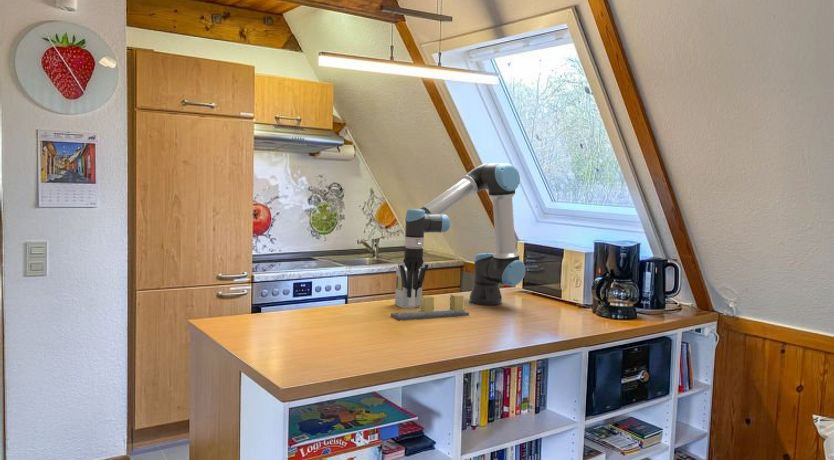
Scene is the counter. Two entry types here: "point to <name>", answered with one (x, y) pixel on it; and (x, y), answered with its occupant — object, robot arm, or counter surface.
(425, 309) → the block
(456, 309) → the board
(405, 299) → the supplement box
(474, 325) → the counter surface
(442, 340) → the counter surface
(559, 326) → the counter surface
